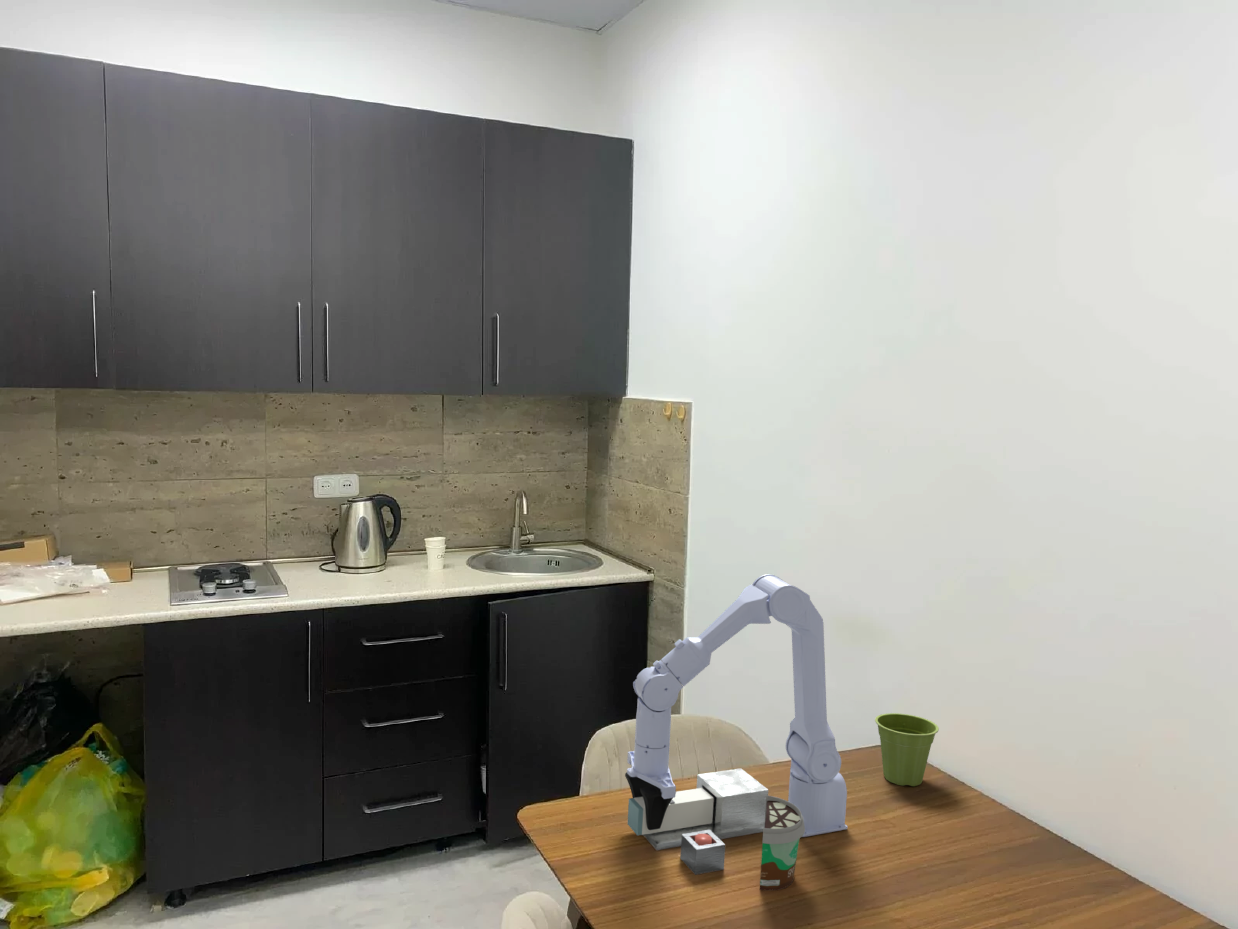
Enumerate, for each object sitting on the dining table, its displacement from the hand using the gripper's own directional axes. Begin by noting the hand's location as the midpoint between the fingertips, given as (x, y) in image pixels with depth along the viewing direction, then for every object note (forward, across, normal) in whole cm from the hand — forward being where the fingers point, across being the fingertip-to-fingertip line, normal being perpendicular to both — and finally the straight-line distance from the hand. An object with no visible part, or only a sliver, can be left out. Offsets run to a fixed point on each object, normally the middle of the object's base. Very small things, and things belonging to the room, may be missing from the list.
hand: (647, 822), depth 149 cm
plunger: (+2, +11, +4) cm, 12 cm away
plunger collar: (+2, +11, +4) cm, 12 cm away
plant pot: (+2, -5, +57) cm, 58 cm away
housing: (+2, 0, +10) cm, 10 cm away
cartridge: (+1, 0, +4) cm, 4 cm away
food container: (+2, +18, +14) cm, 23 cm away
